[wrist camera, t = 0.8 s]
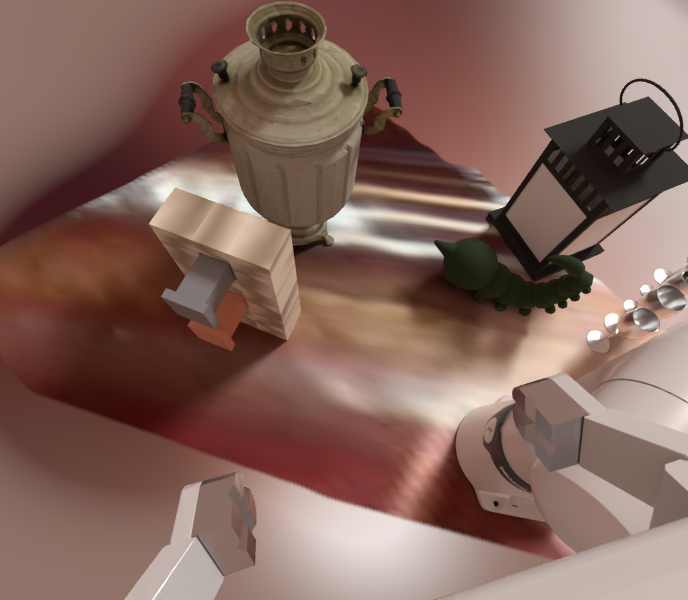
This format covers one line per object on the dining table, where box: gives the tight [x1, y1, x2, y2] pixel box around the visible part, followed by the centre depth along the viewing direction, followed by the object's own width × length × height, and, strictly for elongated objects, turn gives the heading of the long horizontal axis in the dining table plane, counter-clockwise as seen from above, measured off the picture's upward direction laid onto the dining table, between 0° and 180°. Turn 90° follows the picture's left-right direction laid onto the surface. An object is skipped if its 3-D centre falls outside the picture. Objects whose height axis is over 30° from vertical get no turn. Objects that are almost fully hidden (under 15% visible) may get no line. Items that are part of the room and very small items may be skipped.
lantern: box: [488, 79, 688, 282], centre depth 67 cm, size 17×17×35 cm
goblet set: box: [587, 253, 688, 353], centre depth 71 cm, size 28×6×13 cm, turn 128°
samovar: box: [179, 2, 403, 246], centre depth 63 cm, size 30×26×40 cm
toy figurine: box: [434, 238, 594, 316], centre depth 68 cm, size 9×19×25 cm
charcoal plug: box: [161, 253, 236, 329], centre depth 50 cm, size 6×9×6 cm, turn 159°
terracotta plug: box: [188, 291, 248, 351], centre depth 59 cm, size 6×9×6 cm, turn 159°
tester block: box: [149, 188, 301, 340], centre depth 60 cm, size 16×6×27 cm, turn 69°
